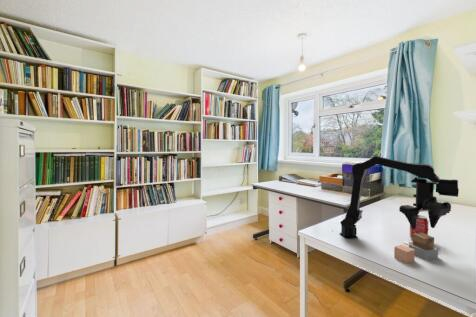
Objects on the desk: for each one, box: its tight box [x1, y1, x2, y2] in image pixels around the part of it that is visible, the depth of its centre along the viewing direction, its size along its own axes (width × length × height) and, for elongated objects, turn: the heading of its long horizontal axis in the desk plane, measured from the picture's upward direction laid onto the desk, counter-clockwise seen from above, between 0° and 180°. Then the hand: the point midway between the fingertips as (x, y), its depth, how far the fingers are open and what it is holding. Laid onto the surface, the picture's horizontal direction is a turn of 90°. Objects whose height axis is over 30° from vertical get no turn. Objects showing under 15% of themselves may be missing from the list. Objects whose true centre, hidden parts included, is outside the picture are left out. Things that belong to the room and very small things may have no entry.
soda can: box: [409, 214, 429, 240], centre depth 109 cm, size 7×7×12 cm
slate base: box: [408, 244, 439, 261], centre depth 96 cm, size 7×7×4 cm
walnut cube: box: [412, 233, 435, 250], centre depth 95 cm, size 5×5×5 cm
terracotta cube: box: [393, 244, 416, 264], centre depth 92 cm, size 5×5×5 cm
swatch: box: [403, 240, 413, 246], centre depth 104 cm, size 7×7×1 cm
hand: (423, 228), depth 95 cm, fingers open, 9 cm apart
